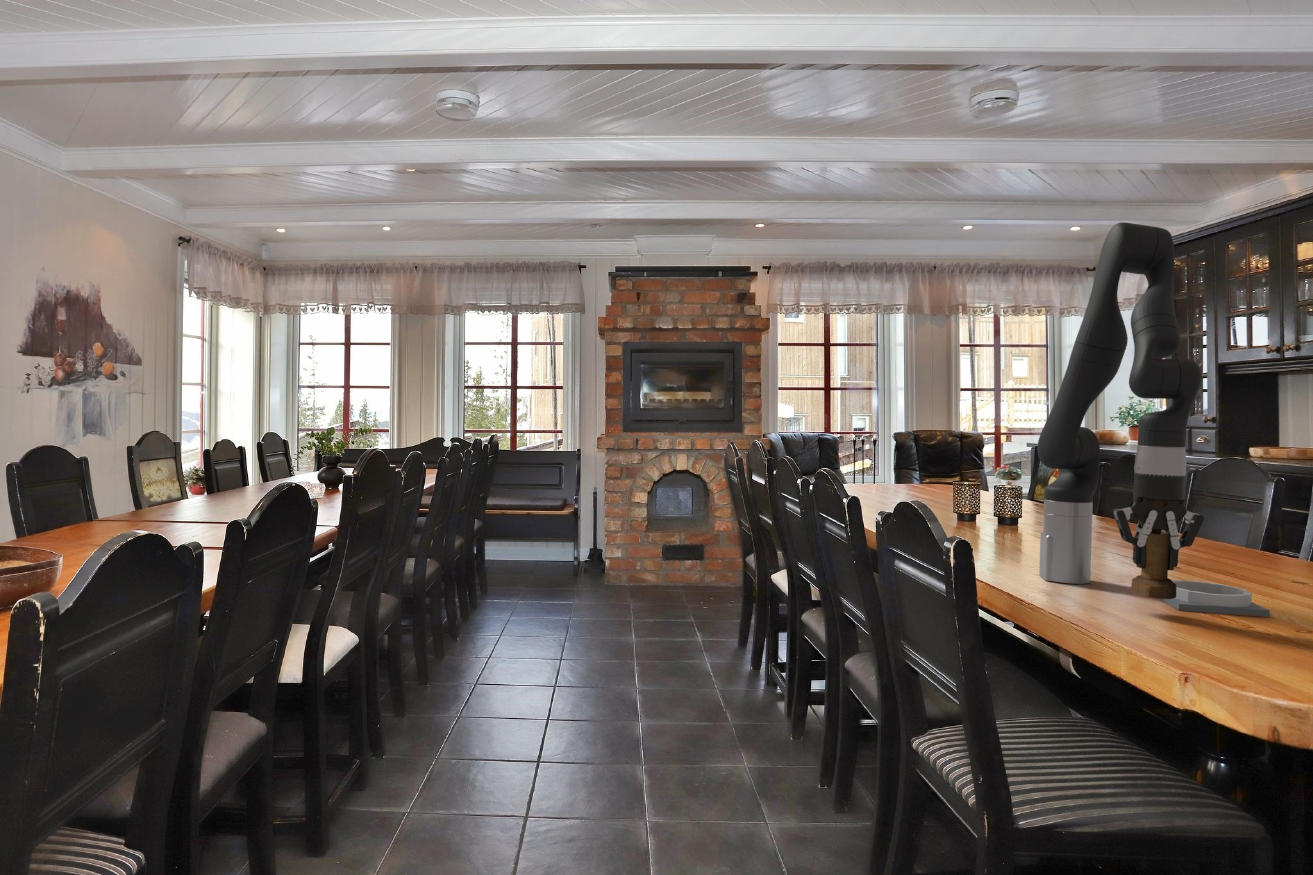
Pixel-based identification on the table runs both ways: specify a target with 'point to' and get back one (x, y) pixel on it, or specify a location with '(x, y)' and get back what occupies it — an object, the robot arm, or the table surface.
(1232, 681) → the table surface
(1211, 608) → the ring board
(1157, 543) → the brown tall stepped piece
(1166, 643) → the table surface
